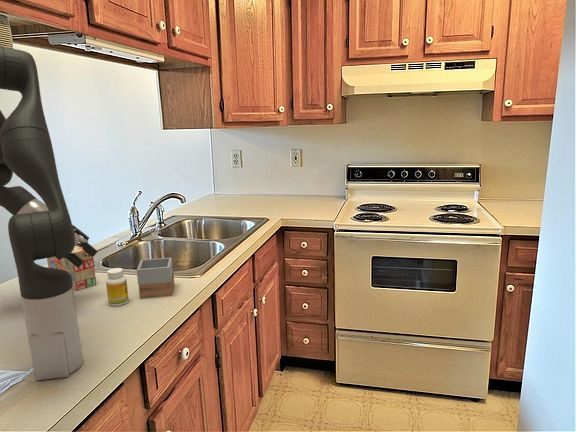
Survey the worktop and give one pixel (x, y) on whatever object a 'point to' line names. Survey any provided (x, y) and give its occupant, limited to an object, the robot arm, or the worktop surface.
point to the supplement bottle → (116, 287)
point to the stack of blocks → (77, 269)
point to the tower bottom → (157, 289)
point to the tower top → (154, 271)
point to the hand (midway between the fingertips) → (88, 259)
